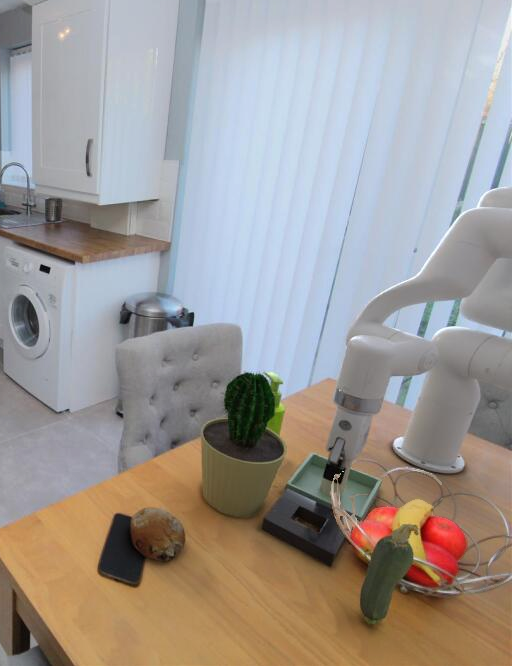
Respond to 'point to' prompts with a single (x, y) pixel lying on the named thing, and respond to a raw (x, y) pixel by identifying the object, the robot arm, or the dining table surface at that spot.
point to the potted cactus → (241, 448)
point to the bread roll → (157, 534)
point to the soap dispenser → (280, 407)
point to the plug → (326, 484)
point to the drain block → (300, 536)
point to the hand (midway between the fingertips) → (335, 474)
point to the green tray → (358, 483)
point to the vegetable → (386, 572)
